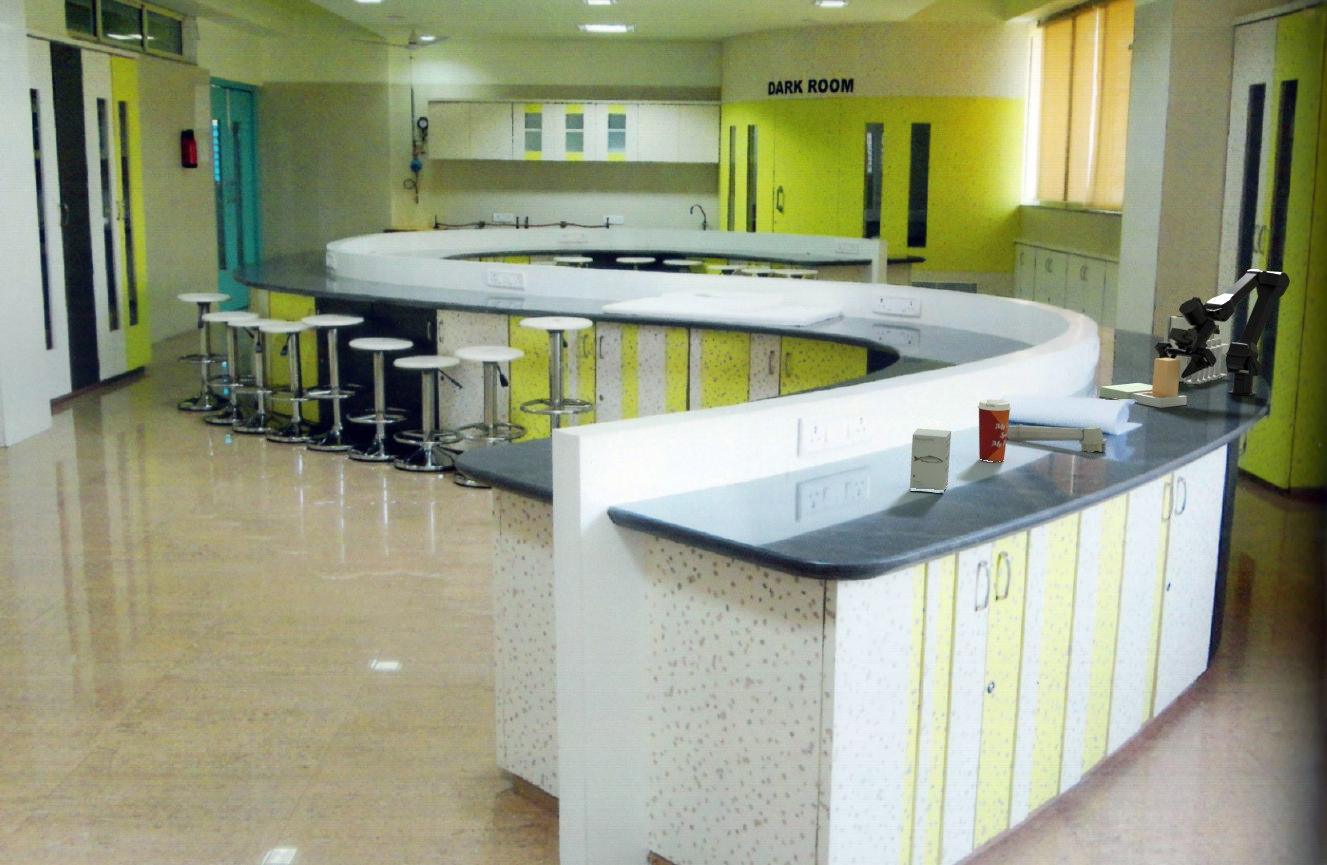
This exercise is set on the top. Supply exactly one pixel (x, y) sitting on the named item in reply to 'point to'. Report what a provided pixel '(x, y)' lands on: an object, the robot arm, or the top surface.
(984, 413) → the paper cup
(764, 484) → the top surface
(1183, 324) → the paper towel roll
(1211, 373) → the test tube rack
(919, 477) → the supplement box
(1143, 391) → the cream stepped slab
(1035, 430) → the grey piece
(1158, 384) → the tan footed upright block
